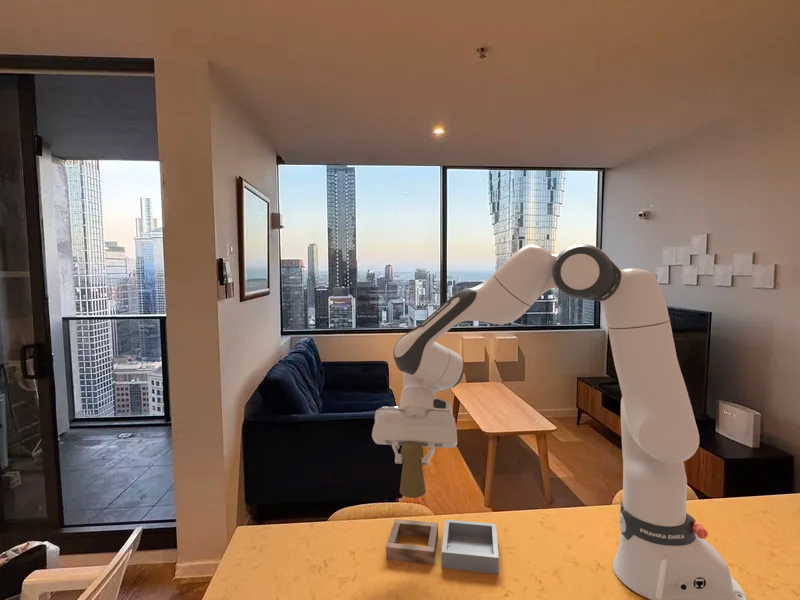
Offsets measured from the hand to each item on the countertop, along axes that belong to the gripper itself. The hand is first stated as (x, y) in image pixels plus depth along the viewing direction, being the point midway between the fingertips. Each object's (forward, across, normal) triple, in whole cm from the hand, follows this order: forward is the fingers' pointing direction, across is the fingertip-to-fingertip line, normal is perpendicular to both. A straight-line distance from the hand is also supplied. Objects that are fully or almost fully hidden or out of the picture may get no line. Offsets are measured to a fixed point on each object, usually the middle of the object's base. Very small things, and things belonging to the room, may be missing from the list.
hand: (411, 463), depth 95 cm
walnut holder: (+14, 0, +15) cm, 20 cm away
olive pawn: (+4, 0, +5) cm, 7 cm away
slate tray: (+14, +13, +15) cm, 24 cm away
